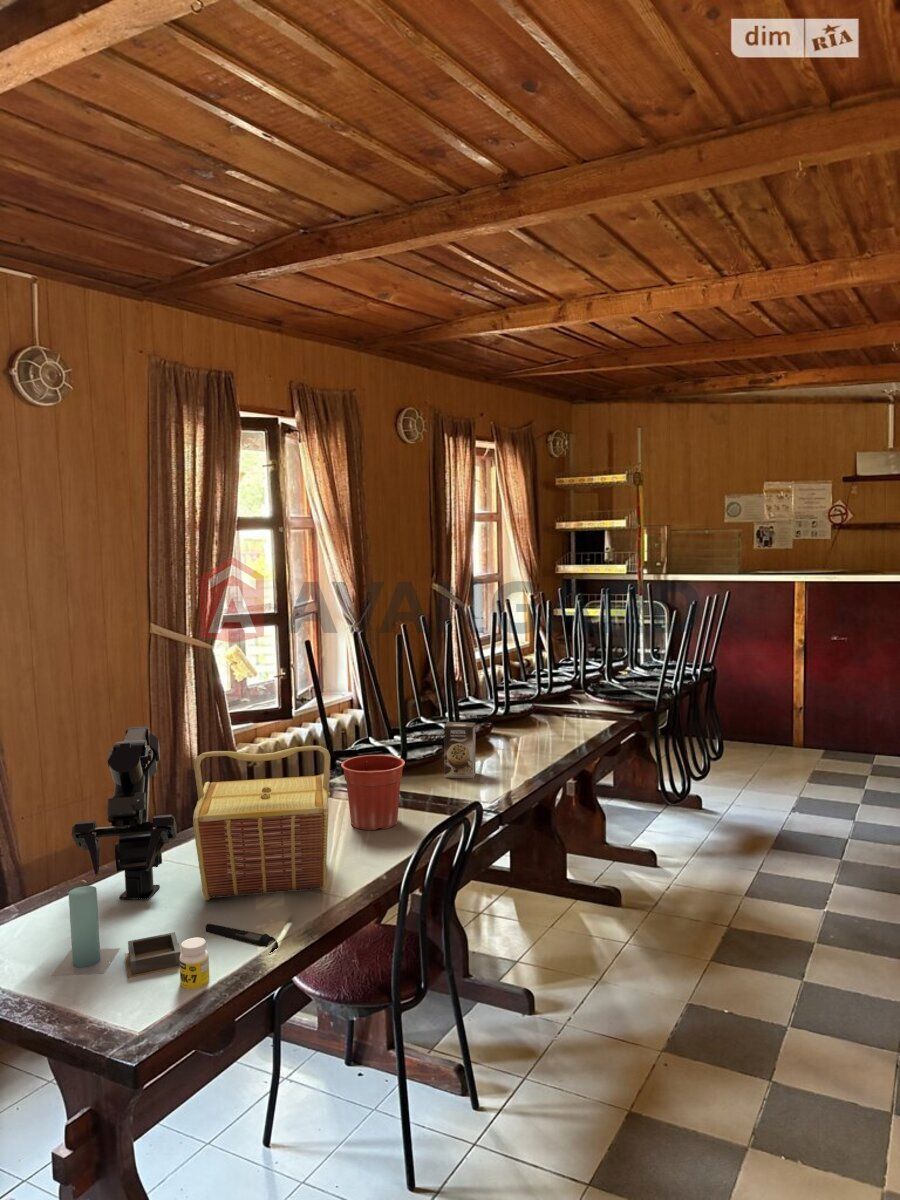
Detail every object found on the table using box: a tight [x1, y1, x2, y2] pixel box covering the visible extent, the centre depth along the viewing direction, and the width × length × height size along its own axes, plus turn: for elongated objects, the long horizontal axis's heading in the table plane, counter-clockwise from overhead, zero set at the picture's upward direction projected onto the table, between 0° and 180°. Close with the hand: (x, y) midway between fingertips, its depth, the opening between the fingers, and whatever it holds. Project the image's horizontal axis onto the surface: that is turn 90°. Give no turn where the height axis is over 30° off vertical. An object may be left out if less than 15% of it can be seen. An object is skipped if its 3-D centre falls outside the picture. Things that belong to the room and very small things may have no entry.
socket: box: [124, 932, 181, 979], centre depth 158 cm, size 9×9×4 cm
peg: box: [68, 885, 101, 968], centre depth 158 cm, size 5×5×13 cm
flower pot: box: [340, 754, 406, 831], centre depth 231 cm, size 16×16×16 cm
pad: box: [51, 947, 121, 977], centre depth 158 cm, size 9×9×2 cm
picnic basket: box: [192, 745, 331, 901], centre depth 194 cm, size 29×26×30 cm
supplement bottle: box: [179, 936, 210, 990], centre depth 151 cm, size 5×5×8 cm
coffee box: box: [443, 721, 477, 779], centre depth 273 cm, size 9×6×16 cm
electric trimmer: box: [205, 923, 280, 954], centre depth 167 cm, size 4×16×3 cm, turn 64°
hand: (122, 872), depth 168 cm, fingers open, 9 cm apart
